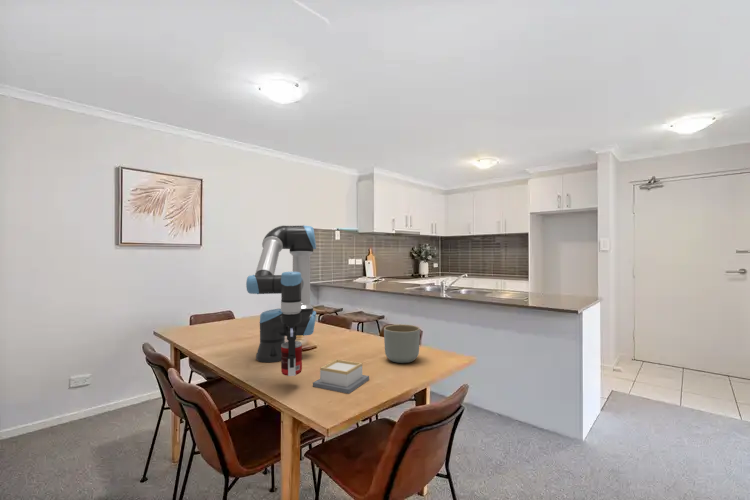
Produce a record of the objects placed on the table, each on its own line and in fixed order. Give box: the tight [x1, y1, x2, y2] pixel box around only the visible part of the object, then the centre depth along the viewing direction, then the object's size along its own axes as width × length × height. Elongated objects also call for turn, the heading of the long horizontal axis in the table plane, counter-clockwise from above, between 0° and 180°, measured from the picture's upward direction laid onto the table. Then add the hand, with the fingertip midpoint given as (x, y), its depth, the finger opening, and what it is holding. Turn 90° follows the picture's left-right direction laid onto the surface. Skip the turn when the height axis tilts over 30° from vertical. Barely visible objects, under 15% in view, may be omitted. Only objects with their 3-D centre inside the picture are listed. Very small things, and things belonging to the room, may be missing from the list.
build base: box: [312, 358, 370, 394], centre depth 143 cm, size 16×16×7 cm
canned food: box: [280, 340, 303, 377], centre depth 140 cm, size 8×8×11 cm
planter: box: [383, 323, 421, 364], centre depth 173 cm, size 17×17×15 cm
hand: (291, 371), depth 140 cm, fingers closed on canned food, 8 cm apart
